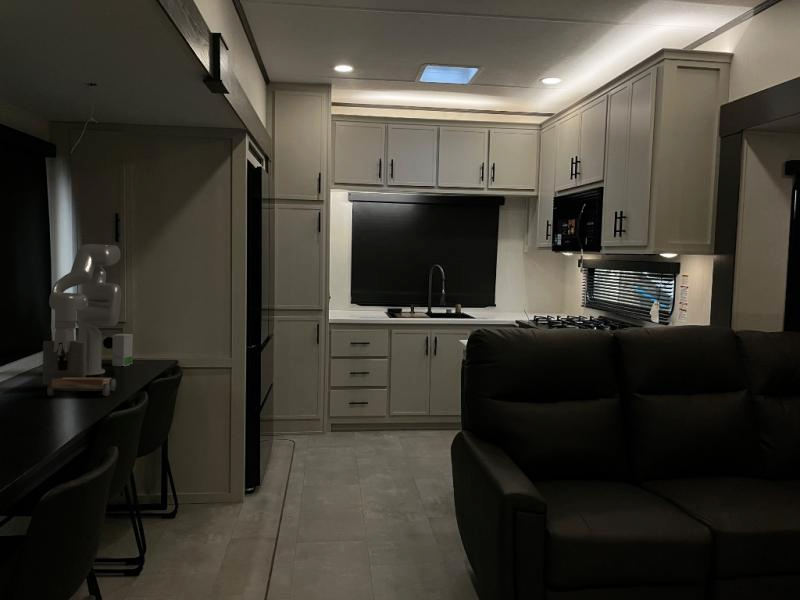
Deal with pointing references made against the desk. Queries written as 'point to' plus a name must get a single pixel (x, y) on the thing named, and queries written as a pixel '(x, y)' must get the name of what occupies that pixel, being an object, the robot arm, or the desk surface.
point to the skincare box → (122, 349)
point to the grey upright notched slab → (74, 359)
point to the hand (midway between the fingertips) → (64, 368)
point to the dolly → (82, 385)
